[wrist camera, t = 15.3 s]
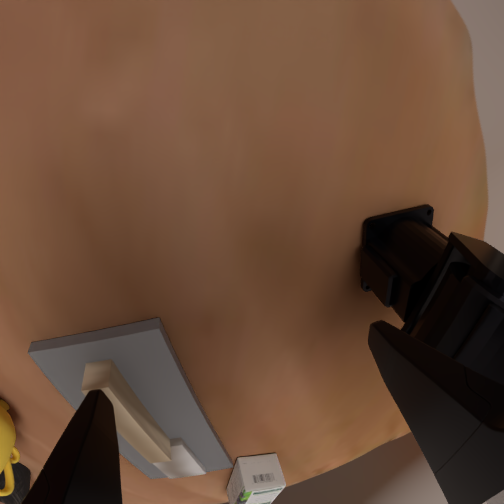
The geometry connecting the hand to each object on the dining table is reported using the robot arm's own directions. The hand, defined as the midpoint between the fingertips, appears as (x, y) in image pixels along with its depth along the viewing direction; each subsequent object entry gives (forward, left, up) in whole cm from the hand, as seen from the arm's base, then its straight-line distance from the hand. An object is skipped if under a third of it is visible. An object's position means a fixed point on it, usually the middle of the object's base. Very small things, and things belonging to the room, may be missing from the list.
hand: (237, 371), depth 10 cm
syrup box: (+1, +35, -9) cm, 36 cm away
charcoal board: (+11, +21, -12) cm, 27 cm away
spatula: (+11, +21, -11) cm, 26 cm away
